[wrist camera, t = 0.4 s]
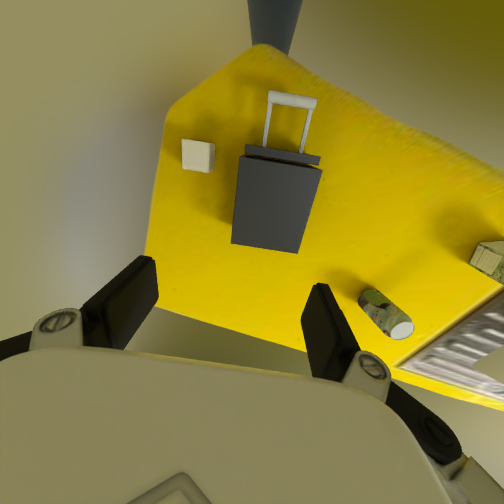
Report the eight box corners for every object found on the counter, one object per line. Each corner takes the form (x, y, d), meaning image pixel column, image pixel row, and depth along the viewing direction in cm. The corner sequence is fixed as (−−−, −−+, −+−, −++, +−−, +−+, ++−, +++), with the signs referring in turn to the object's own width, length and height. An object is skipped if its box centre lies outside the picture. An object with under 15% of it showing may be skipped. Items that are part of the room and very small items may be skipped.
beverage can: (350, 296, 50) (373, 335, 40) (376, 279, 47) (408, 317, 37) (364, 308, 52) (390, 349, 42) (390, 293, 49) (424, 333, 39)
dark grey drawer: (254, 93, 31) (252, 81, 25) (324, 105, 31) (338, 96, 25) (239, 217, 41) (236, 228, 35) (292, 225, 41) (297, 237, 35)
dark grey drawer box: (244, 154, 36) (239, 156, 29) (311, 165, 36) (322, 170, 29) (236, 227, 43) (230, 243, 36) (291, 236, 43) (297, 253, 36)
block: (190, 139, 35) (181, 138, 31) (215, 143, 35) (209, 143, 31) (190, 166, 37) (182, 168, 33) (214, 170, 37) (208, 172, 33)
